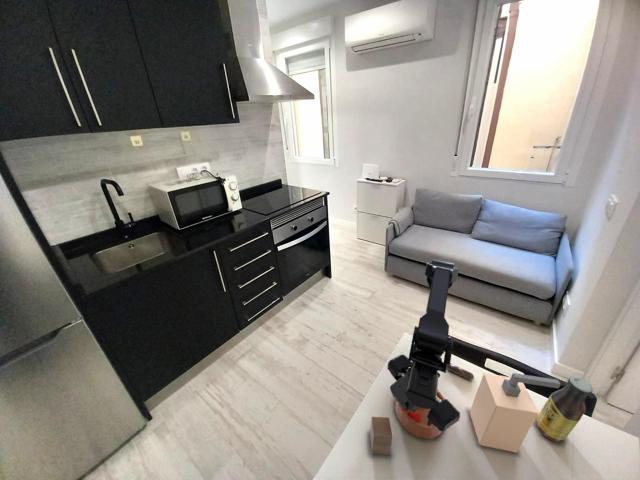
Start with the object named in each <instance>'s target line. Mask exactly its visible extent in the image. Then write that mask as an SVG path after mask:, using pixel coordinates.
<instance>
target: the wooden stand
mask: <svg viewBox="0 0 640 480" xmlns="http://www.w3.org/2000/svg"><path fill="white" fill-rule="evenodd" d="M369 429H370V430H369V442H370V451H371V454H372V455H384V456H390V453H391V447H392V442H393V432H392V425H391V419H390V417H387V416H371V419H370V428H369Z"/></svg>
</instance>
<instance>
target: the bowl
mask: <svg viewBox="0 0 640 480" xmlns="http://www.w3.org/2000/svg"><path fill="white" fill-rule="evenodd" d="M437 397H438V398H439V399H440V400H441V401H443V400H445V399H446V398H445V397H444V396H443V395H442V393H441V391H439V390H438V389H437ZM394 406H395V414H396V417H397V419H398V421H399V422H400V424H401V426H402V427H403V428H404V429H405V430H406V431H407V432H408V433H410V434H411V435H412V436H415V437H417V438H420V439H424V440H431V439H432V440H433V439H435V438H437V437H438V436H440V435H441V434H442V433H443V432H442V431H439V430H438V428H437V427H435V426H434V425H433V424H432V425H430V426H429V427H428V425H427V422H428V418H427V416H428V413H429V411H430V410H431V409H423V408H419V409H418V410H416V412H417V413H418V414H419V416H420V421H419V423H417V422H416V421H414V420H413V419H411V418H410V417H409V416H408V412H409V411H410V410H408V411H406V410H405V409H403V408H402V407H401V406H400V405H399V403H398V402H397V401H396V400H395V405H394Z"/></svg>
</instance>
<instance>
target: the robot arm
mask: <svg viewBox="0 0 640 480" xmlns="http://www.w3.org/2000/svg"><path fill="white" fill-rule="evenodd" d="M458 274H459V267H455V263H454V262H448V261H444V260H438V259H431V262H429V261H427V262H426V265H425V270H424V276H426V282H427V286H428V288H429V293H428V299H427V303H426V309H425V312H424V314H422V315H421V316H420V317H419V320H418V325H417V326H416V325H415V326H414V328H413V334H412V338H411V344H410V349H409V354H408V357H407V356H406V354H400V355H396V356H395V357H393V358H391V359H390V360H389V361H388V362H387V370H388V371H389V373H390V375H391V376H392V377H393V378H394V379H395V382H393V383H392V384H391V385H390V387H389V389H390V392H391V396H392V397H393V398H394V400H395V402H396V401H397V402H398V403H399V405H400V406H401V407H402V408H403V409H405V410H406V411H408V410H410V411H411V412H412V413H414V412H415V411H416V410H418V409H419V408H423V409H431V410H430V411H429V413H428V416H427V418H428V422H427V425H428V427H429V426H430V425H432V424H433V425H434V426H435V427H437V428H438V430H439V431H442V433H443V432H445V431H447V429H449V428H451V427H452V426H453V425H455V424H457V422H459V421H460V418H461V412H460V411H459V410H458V409H457V407H455V405H454V404H453V403H452V402H451V401H449V399H448V398H444V399H445V400H443V401H441V400H440V399H439V398H438V397H437V390H438V384H439V378H441V373H444V374H446V373H447V368H446V367H447V364H448V365H450V363H451V361H452V354H453V348H454V342H453V341H452V340H453V339H452V336H450V335H449V334H450V333H449V332H450V331H449V330H450V324H449V323H448V321H447V319H446V317H445V316H446V308H447V301H448V293H449V290H450V288H451V287H453V284H454V283H456V282H457V280H458ZM443 355H444V357H443V358H442V356H443ZM440 372H441V373H440Z"/></svg>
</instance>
